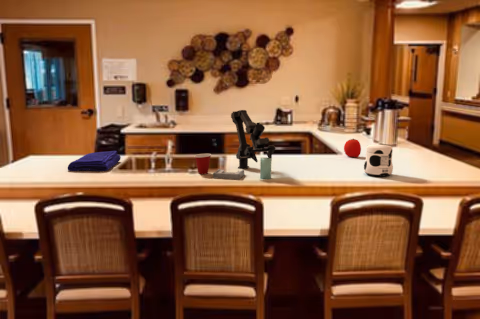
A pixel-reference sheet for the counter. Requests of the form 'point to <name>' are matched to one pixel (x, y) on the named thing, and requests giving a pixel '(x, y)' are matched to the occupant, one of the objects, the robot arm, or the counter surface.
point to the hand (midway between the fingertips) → (264, 161)
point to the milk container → (378, 160)
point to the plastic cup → (202, 162)
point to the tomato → (352, 148)
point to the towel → (95, 161)
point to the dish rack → (228, 174)
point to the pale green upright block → (265, 168)
